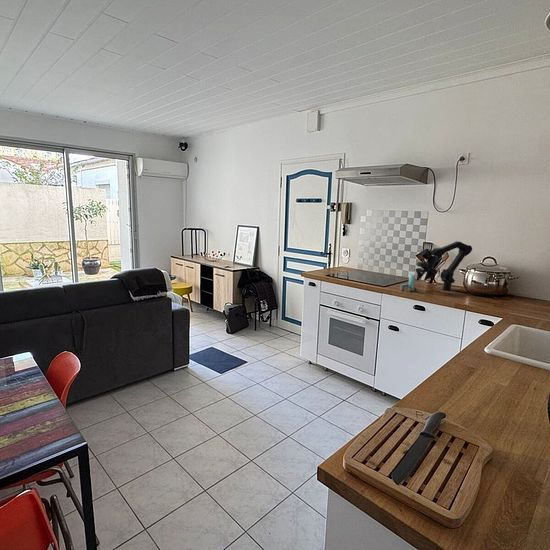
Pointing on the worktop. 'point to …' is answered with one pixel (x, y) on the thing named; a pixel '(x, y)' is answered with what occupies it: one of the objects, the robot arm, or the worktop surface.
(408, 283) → the backstop
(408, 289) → the block
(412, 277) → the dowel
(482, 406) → the worktop surface
